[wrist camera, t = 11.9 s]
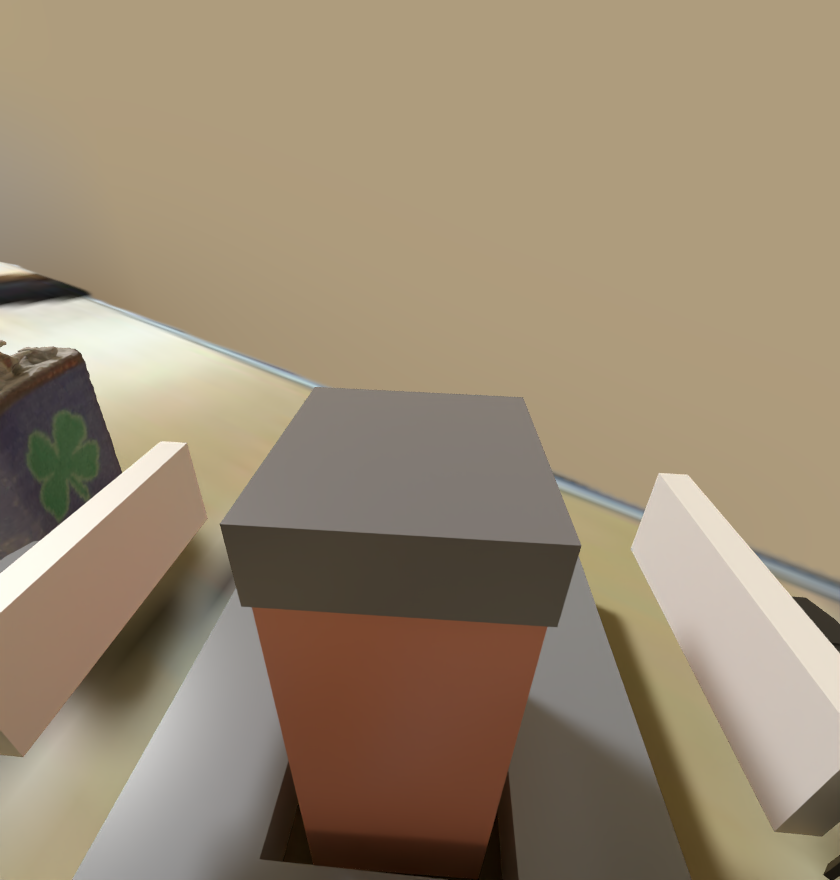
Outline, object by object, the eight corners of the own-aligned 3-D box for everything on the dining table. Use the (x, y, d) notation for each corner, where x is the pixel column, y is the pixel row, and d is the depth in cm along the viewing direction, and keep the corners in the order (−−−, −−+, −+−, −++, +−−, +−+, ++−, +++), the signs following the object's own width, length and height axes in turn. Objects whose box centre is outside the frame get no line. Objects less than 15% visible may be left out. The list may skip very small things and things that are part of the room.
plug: (309, 870, 12) (219, 523, 6) (344, 695, 16) (314, 386, 10) (482, 884, 11) (581, 546, 5) (472, 704, 16) (522, 397, 10)
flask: (57, 609, 19) (-77, 376, 13) (-21, 617, 18) (-192, 379, 13) (141, 486, 26) (77, 309, 21) (88, 489, 26) (10, 310, 21)
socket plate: (-79, 1303, 7) (-180, 1327, 6) (276, 568, 21) (268, 529, 20) (810, 1447, 6) (911, 1508, 5) (565, 590, 20) (576, 551, 19)
